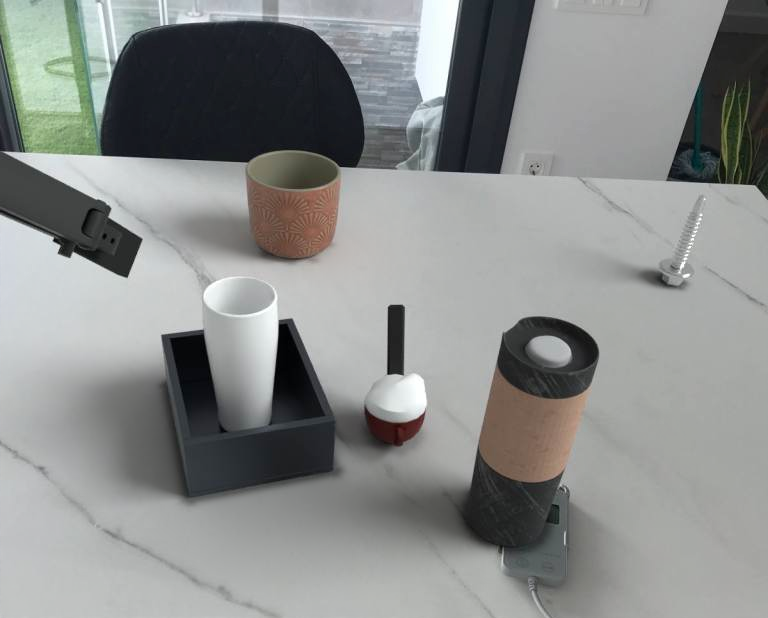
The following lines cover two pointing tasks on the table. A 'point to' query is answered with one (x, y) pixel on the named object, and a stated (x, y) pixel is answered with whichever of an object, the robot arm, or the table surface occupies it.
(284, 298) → the table surface
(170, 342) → the dark storage bin
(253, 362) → the white cup
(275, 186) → the planter
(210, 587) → the table surface
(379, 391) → the cocoa
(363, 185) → the table surface
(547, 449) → the travel mug
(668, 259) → the screw
